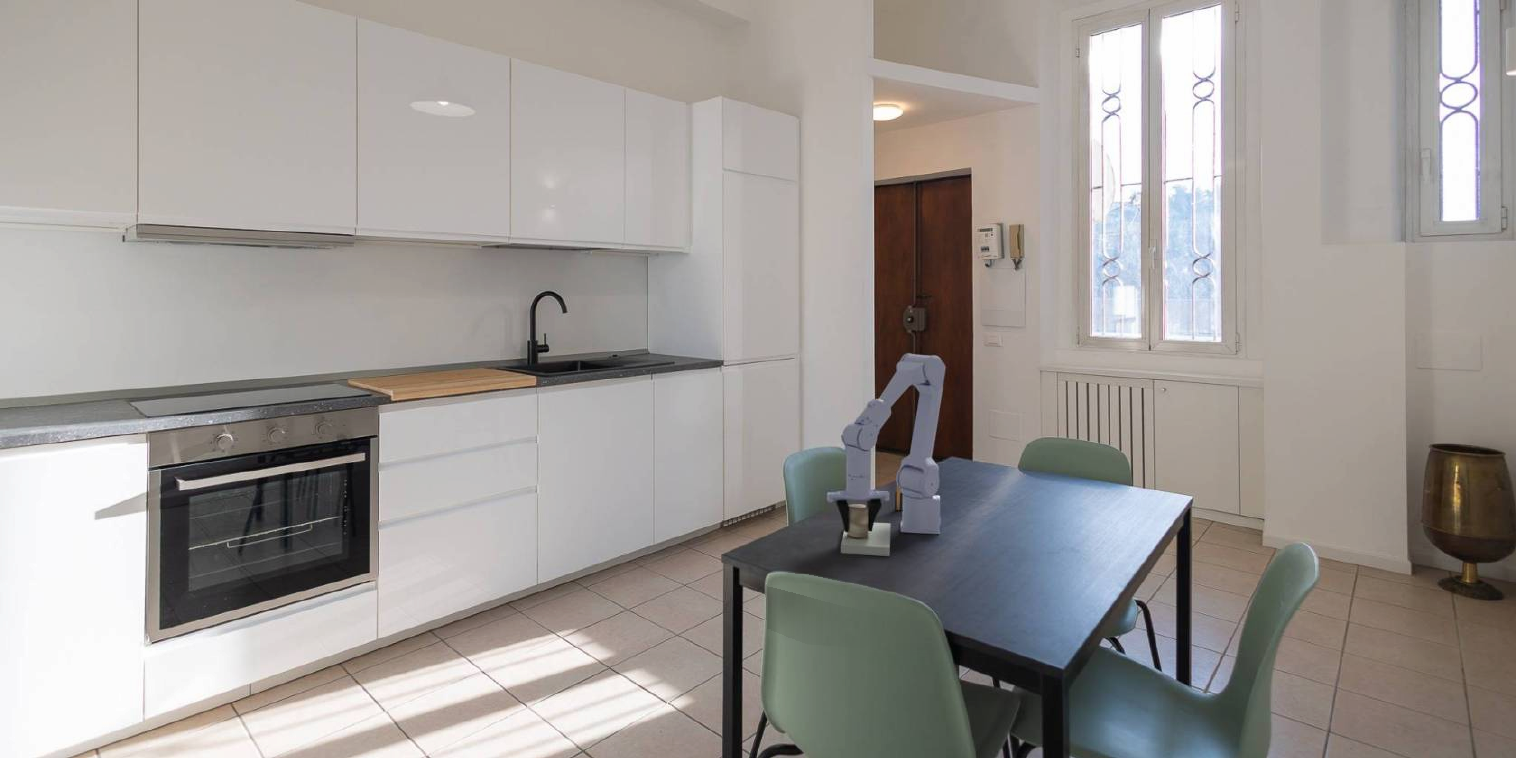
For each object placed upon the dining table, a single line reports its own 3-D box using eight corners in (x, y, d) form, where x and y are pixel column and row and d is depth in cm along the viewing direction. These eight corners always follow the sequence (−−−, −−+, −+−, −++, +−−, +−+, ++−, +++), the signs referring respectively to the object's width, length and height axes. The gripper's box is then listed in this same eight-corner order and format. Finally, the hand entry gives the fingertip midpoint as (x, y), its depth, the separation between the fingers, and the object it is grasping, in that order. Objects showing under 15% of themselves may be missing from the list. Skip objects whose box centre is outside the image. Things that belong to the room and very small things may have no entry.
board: (890, 531, 188) (890, 523, 188) (889, 555, 171) (889, 547, 170) (846, 528, 190) (846, 521, 190) (840, 553, 173) (840, 544, 172)
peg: (865, 539, 182) (865, 503, 181) (870, 546, 177) (871, 509, 176) (844, 540, 181) (845, 504, 180) (850, 547, 176) (850, 510, 175)
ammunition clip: (900, 511, 205) (901, 468, 204) (894, 510, 206) (895, 467, 205) (920, 503, 213) (921, 461, 212) (914, 502, 214) (915, 460, 213)
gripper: (884, 469, 181) (883, 524, 183) (825, 471, 180) (824, 526, 182) (892, 476, 174) (891, 533, 176) (830, 478, 173) (829, 535, 175)
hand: (857, 530), depth 178 cm, fingers closed on peg, 5 cm apart
